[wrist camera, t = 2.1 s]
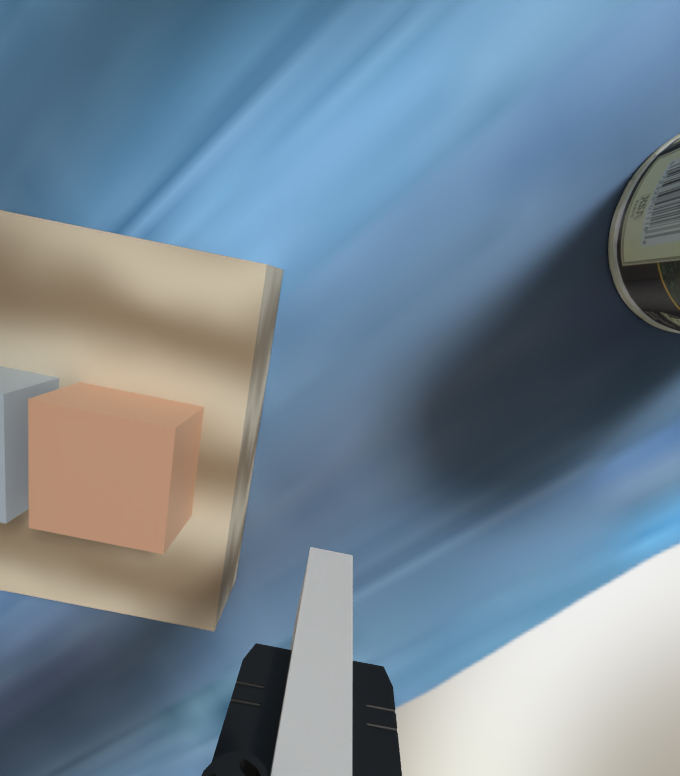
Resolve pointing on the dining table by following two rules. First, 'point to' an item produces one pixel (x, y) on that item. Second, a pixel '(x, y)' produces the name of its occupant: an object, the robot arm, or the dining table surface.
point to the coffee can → (650, 240)
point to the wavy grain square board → (148, 377)
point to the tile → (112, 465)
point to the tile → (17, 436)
